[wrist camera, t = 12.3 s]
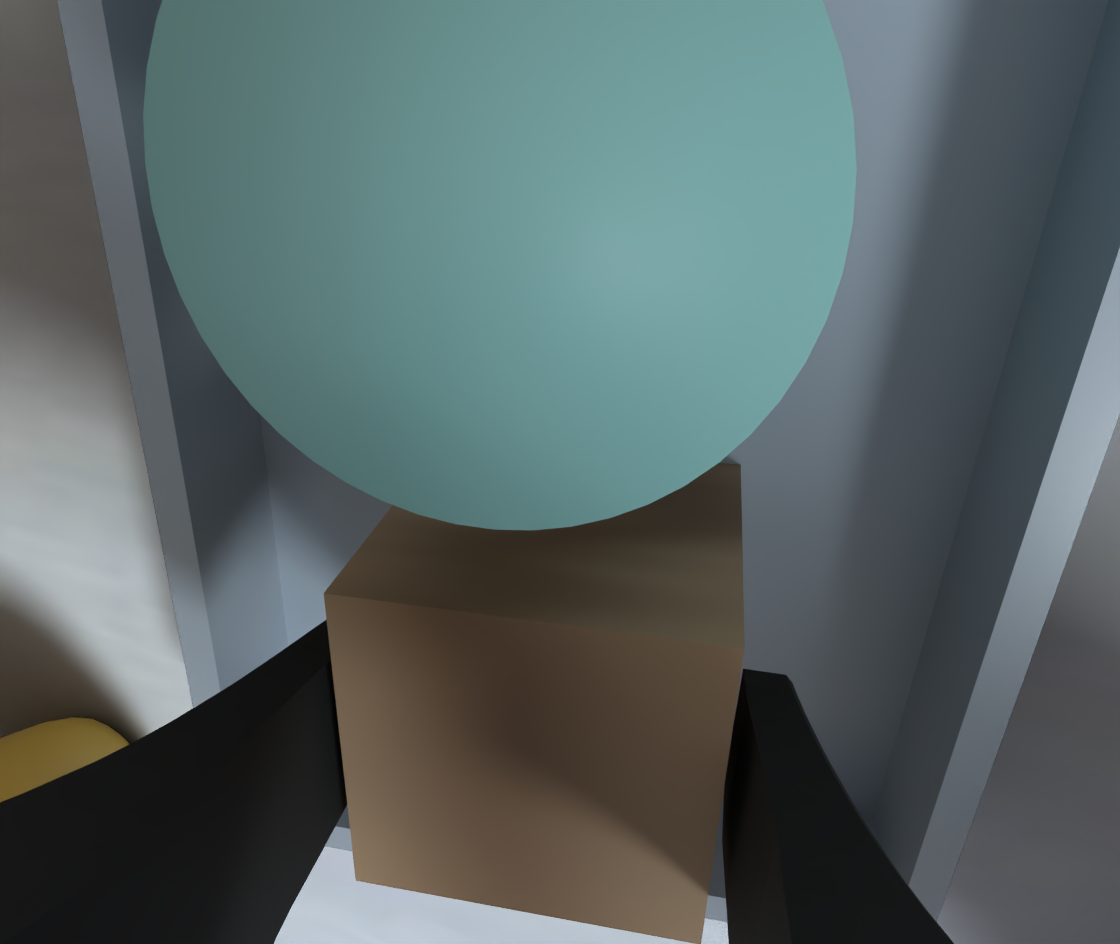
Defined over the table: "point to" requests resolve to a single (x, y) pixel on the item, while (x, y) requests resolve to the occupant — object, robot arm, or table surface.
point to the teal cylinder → (504, 233)
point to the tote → (788, 430)
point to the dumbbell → (52, 752)
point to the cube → (545, 707)
